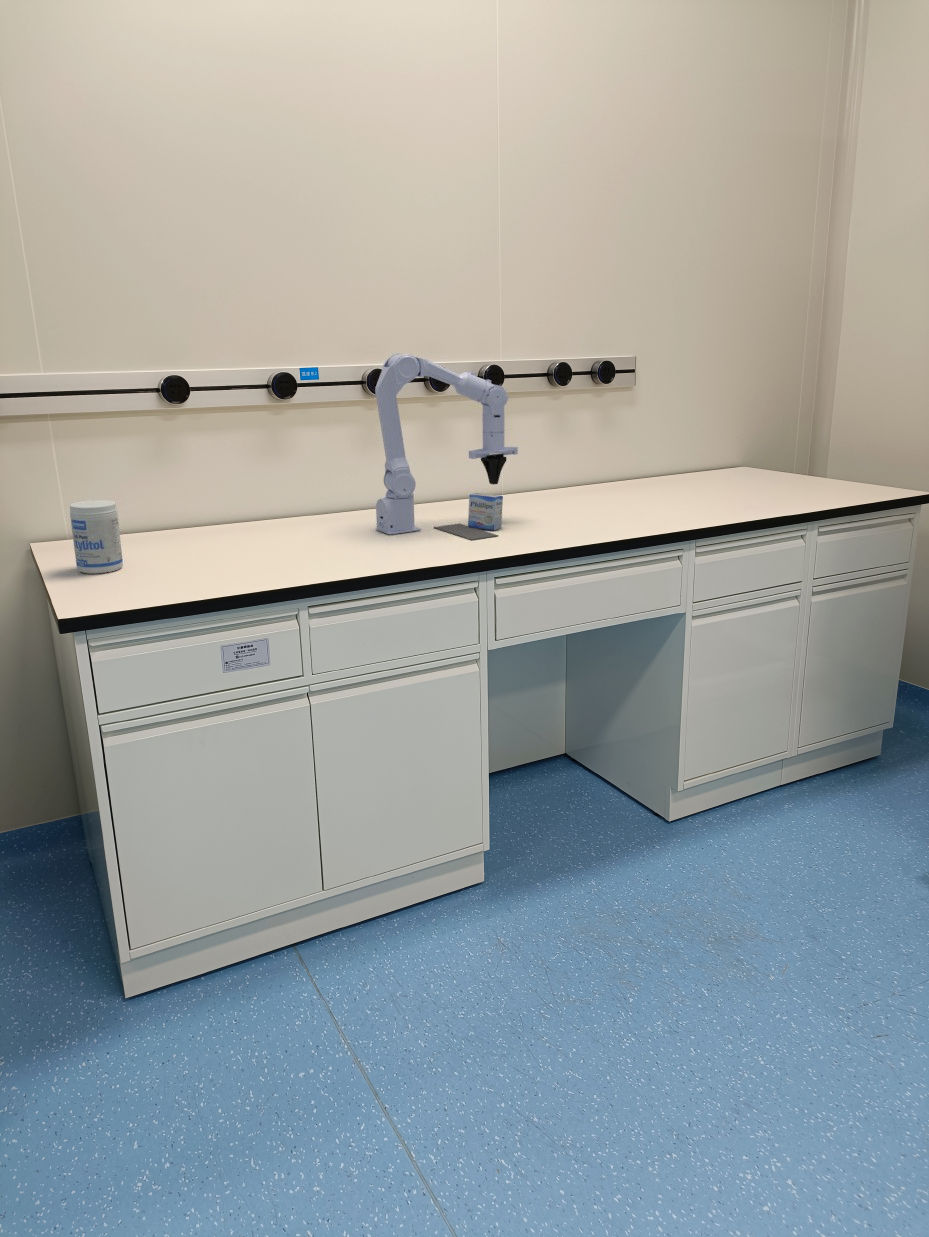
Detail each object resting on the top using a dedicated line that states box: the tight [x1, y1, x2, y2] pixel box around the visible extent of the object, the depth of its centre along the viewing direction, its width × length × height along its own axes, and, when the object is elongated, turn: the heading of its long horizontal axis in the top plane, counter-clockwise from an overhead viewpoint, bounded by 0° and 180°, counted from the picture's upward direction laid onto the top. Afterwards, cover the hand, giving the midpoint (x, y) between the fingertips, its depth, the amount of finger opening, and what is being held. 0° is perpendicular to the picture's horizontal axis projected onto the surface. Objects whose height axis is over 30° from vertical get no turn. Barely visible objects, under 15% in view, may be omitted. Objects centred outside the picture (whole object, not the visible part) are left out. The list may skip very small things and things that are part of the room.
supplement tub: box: [69, 499, 124, 575], centre depth 195 cm, size 10×10×15 cm
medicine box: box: [467, 492, 504, 531], centre depth 233 cm, size 8×4×9 cm, turn 62°
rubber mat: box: [433, 522, 499, 541], centre depth 230 cm, size 8×18×1 cm, turn 33°
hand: (493, 483), depth 238 cm, fingers closed
